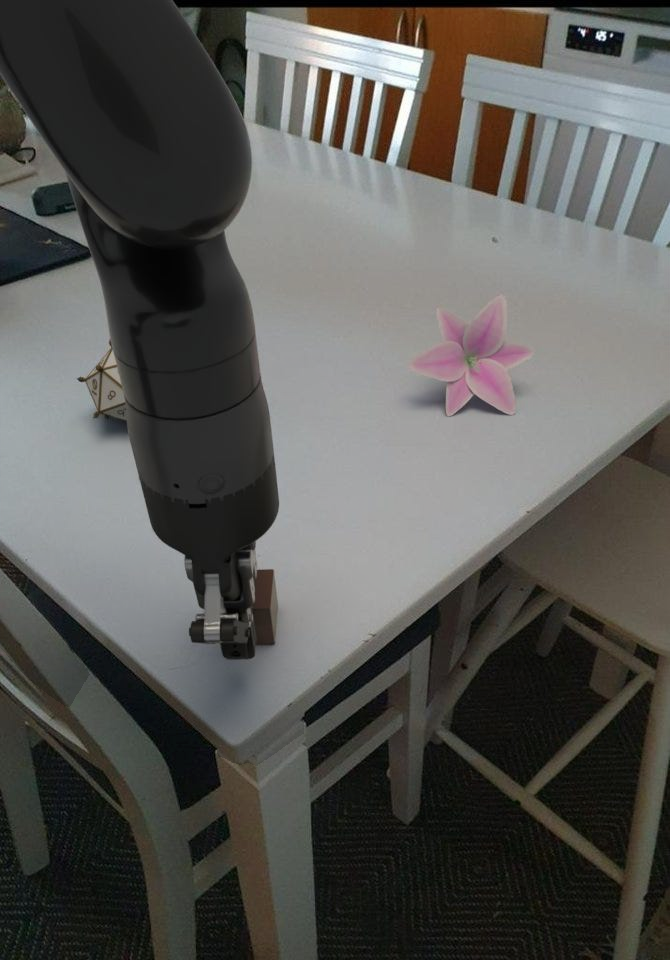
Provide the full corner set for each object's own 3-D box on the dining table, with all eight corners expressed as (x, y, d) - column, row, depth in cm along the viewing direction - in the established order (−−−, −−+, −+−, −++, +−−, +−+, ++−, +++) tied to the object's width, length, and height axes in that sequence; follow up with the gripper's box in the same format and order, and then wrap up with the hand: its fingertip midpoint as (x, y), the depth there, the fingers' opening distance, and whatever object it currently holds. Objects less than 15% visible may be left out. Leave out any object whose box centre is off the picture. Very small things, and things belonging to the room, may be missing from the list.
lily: (388, 408, 86) (407, 362, 77) (425, 323, 90) (447, 271, 81) (493, 452, 85) (524, 412, 76) (525, 365, 90) (557, 316, 81)
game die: (159, 442, 87) (205, 379, 82) (99, 459, 80) (145, 391, 74) (110, 381, 88) (152, 315, 83) (47, 393, 81) (88, 321, 76)
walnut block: (221, 645, 61) (214, 610, 58) (227, 605, 64) (221, 569, 61) (274, 644, 60) (270, 608, 58) (278, 604, 64) (273, 568, 61)
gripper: (157, 386, 50) (198, 581, 61) (110, 535, 39) (170, 737, 50) (279, 382, 49) (298, 579, 60) (264, 532, 39) (290, 735, 50)
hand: (240, 650), depth 55 cm, fingers closed
